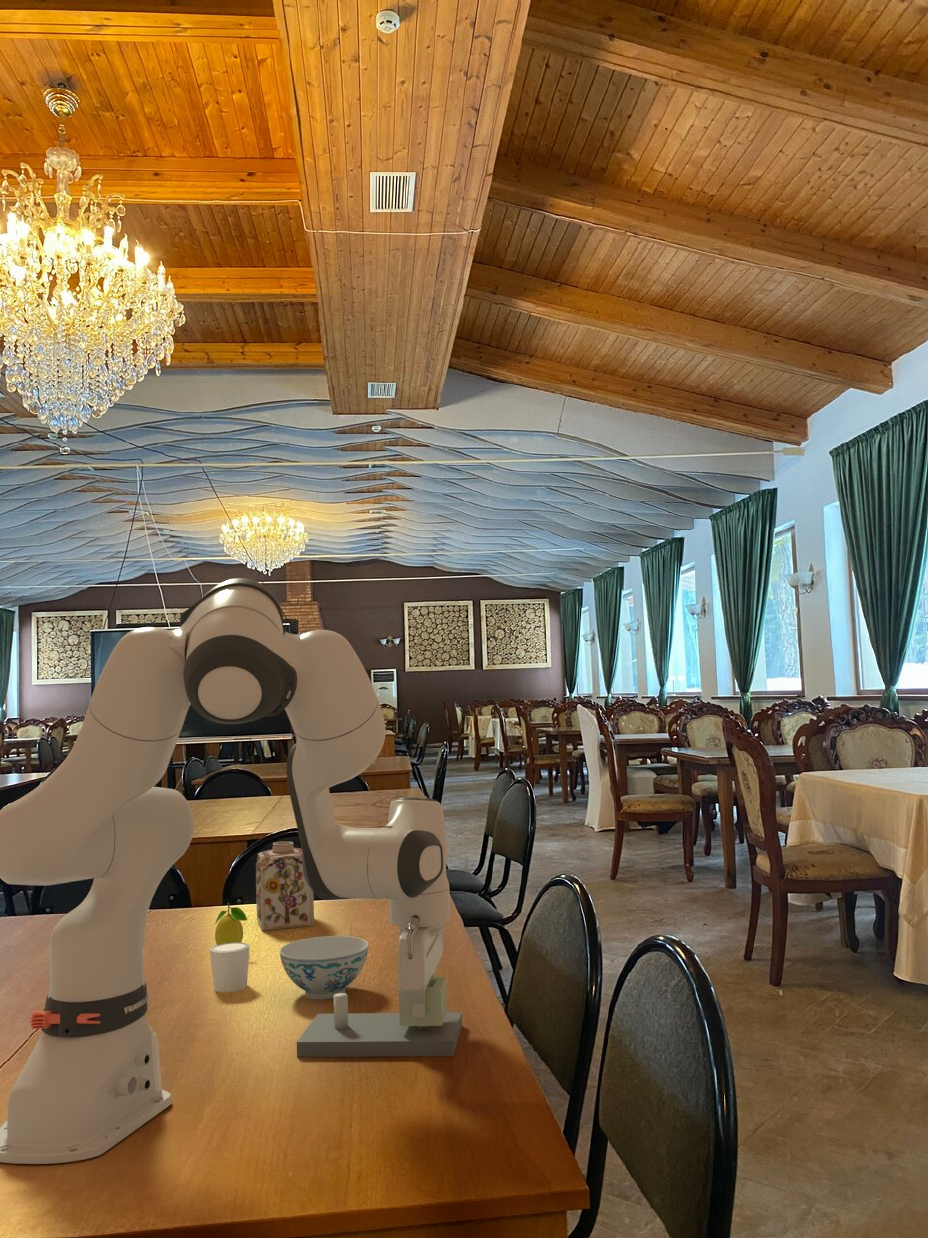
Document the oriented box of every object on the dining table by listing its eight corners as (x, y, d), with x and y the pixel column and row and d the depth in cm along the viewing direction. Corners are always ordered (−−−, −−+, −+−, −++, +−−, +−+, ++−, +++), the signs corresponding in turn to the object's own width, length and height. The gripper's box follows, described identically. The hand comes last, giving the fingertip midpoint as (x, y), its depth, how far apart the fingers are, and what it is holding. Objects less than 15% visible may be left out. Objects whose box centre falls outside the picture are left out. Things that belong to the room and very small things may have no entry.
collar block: (441, 1025, 135) (440, 989, 135) (399, 1026, 135) (398, 989, 136) (446, 1012, 141) (445, 977, 141) (406, 1012, 141) (405, 977, 142)
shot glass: (240, 994, 164) (239, 952, 165) (203, 993, 166) (202, 951, 166) (256, 982, 171) (256, 942, 172) (221, 981, 172) (220, 941, 173)
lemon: (247, 955, 190) (246, 903, 191) (217, 959, 188) (216, 907, 188) (242, 947, 196) (241, 897, 197) (213, 951, 194) (212, 901, 195)
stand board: (453, 1056, 132) (451, 1000, 132) (297, 1057, 134) (295, 1001, 134) (462, 1026, 143) (460, 974, 144) (318, 1027, 145) (316, 976, 146)
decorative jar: (256, 921, 220) (254, 841, 222) (307, 915, 224) (305, 837, 225) (261, 932, 209) (259, 848, 210) (314, 926, 212) (312, 844, 214)
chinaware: (284, 1012, 153) (283, 963, 154) (277, 986, 168) (276, 941, 168) (377, 1000, 157) (375, 952, 158) (362, 976, 172) (360, 932, 172)
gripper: (431, 925, 129) (435, 1032, 127) (449, 894, 149) (453, 986, 148) (385, 926, 129) (388, 1032, 128) (409, 895, 150) (412, 986, 148)
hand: (423, 1007), depth 138 cm, fingers closed on collar block, 6 cm apart
